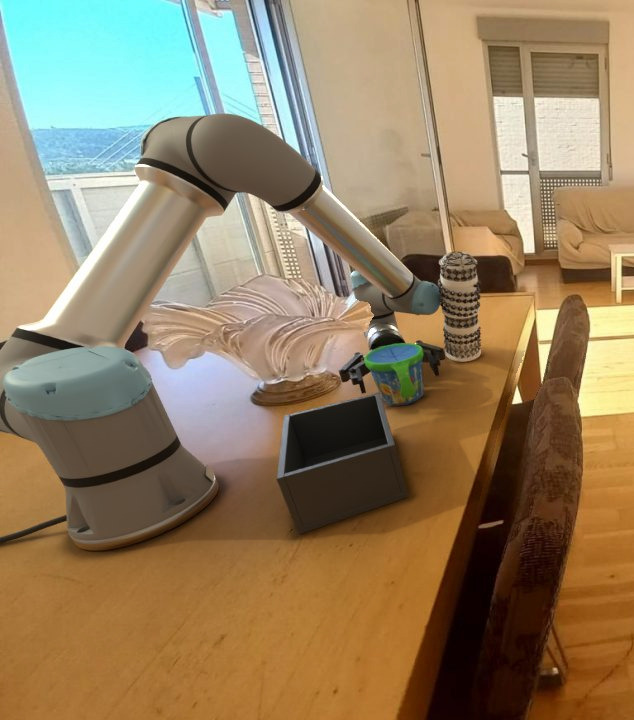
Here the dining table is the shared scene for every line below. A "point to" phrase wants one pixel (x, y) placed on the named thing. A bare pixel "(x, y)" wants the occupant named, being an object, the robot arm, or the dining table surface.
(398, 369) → the snack cup
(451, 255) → the decorative candle
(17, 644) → the dining table surface
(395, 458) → the waste bin
